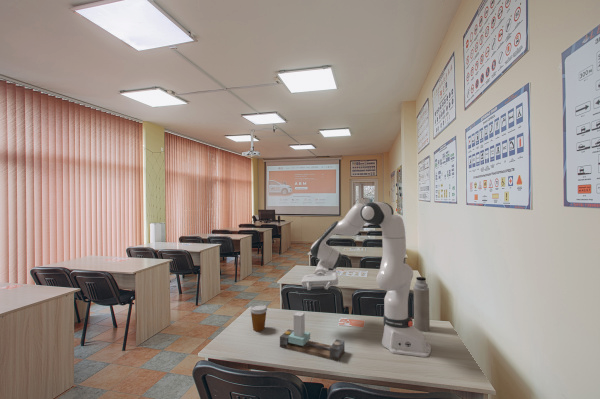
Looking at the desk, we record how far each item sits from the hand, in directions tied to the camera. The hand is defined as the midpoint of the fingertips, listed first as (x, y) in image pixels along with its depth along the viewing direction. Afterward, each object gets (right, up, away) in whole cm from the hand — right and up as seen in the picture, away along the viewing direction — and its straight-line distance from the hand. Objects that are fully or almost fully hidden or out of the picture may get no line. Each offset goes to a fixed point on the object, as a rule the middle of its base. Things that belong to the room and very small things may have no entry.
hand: (317, 288), depth 151 cm
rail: (-3, -25, -13) cm, 28 cm away
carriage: (-9, -23, -10) cm, 26 cm away
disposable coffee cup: (-32, -26, +10) cm, 43 cm away
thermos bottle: (+59, -25, +9) cm, 64 cm away
